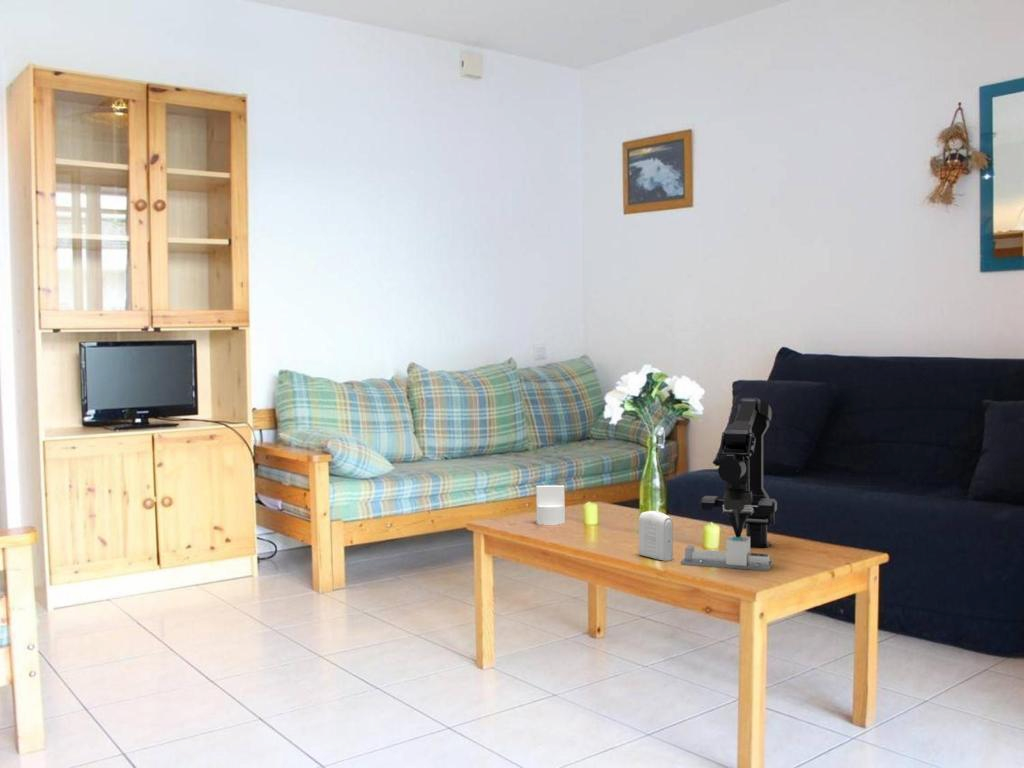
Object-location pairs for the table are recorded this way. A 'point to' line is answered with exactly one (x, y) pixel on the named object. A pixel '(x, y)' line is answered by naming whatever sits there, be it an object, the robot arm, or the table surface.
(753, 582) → the table surface
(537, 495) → the cylinder with rectangular tab
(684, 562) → the rail panel
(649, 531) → the photo printer
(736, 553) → the module
